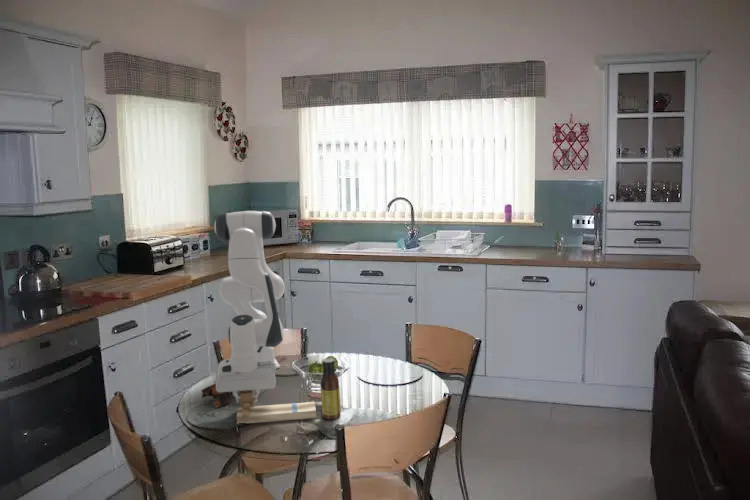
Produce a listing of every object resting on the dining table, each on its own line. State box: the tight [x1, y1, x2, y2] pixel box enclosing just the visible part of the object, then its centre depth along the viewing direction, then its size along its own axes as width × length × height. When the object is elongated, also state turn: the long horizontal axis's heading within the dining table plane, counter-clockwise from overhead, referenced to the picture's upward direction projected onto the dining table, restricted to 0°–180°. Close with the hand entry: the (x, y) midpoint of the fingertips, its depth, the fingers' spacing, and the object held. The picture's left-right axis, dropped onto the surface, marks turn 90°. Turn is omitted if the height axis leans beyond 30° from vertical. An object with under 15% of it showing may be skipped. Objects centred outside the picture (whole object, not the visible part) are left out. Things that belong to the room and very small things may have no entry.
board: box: [236, 401, 317, 425], centre depth 229 cm, size 8×26×3 cm, turn 98°
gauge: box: [239, 390, 255, 417], centre depth 229 cm, size 15×4×8 cm, turn 8°
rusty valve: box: [201, 383, 234, 408], centre depth 243 cm, size 12×10×8 cm
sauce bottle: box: [320, 357, 342, 420], centre depth 226 cm, size 7×6×20 cm
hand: (247, 401), depth 234 cm, fingers open, 4 cm apart
